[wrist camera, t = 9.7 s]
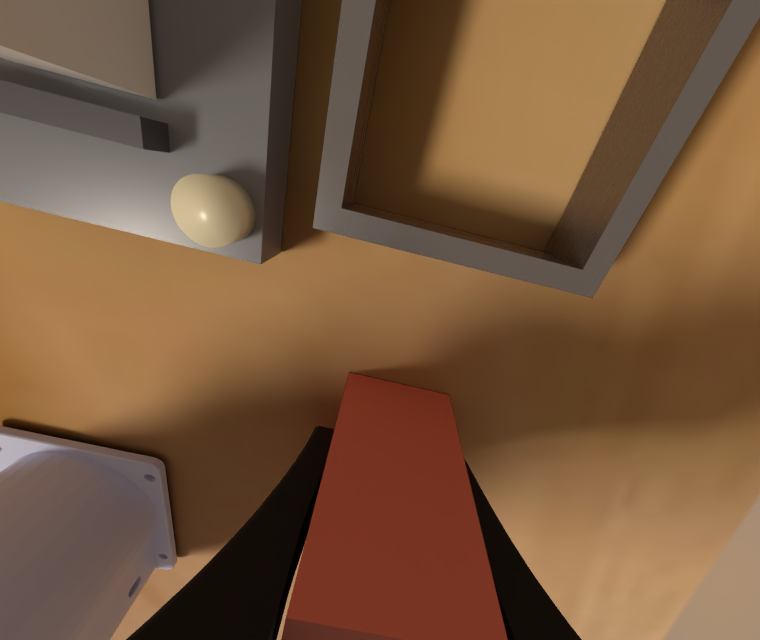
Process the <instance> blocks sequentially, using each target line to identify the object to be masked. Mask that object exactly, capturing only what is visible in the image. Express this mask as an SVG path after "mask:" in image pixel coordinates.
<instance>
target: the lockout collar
mask: <svg viewBox="0 0 760 640" xmlns="http://www.w3.org/2000/svg"><path fill="white" fill-rule="evenodd" d="M389 3H390V0H342V4H341V12H340V20H339V27H338V35H337V43H336V51H335V58H334V66H333V74H332V82H331V89H330V97H329V105H328V113H327V120H326V128H325V136H324V144H323V151H322V159H321V167H320V175H319V182H318V190H317V198H316V206H315V213H314V221H313V228H315V229H319V230H323V231H327V232H331V233H335V234H339V235H343V236H347V237H351V238H355V239H359V240H363V241H367V242H371V243H375V244H379V245H383V246H387V247H391V248H395V249H399V250H403V251H407V252H411V253H415V254H419V255H423V256H427V257H431V258H435V259H439V260H443V261H447V262H451V263H455V264H459V265H463V266H467V267H471V268H475V269H479V270H483V271H487V272H491V273H495V274H499V275H503V276H507V277H511V278H515V279H519V280H523V281H527V282H531V283H535V284H539V285H542V286H546V287H550V288H554V289H558V290H562V291H566V292H570V293H574V294H578V295H582V296H586V297H590V298H593V296H594V294H595V293H596V291H597V289H598V288H599V286H600V284H601V283H602V281H603V279H604V278H605V276H606V274H607V273H608V271H609V269H610V268H611V266H612V264H613V263H614V261H615V259H616V258H617V256H618V254H619V253H620V251H621V249H622V248H623V246H624V244H625V242H626V241H627V239H628V237H629V236H630V234H631V232H632V231H633V229H634V227H635V226H636V224H637V222H638V221H639V219H640V217H641V216H642V214H643V212H644V211H645V209H646V207H647V206H648V204H649V202H650V201H651V199H652V197H653V196H654V194H655V192H656V191H657V189H658V187H659V185H660V184H661V182H662V180H663V179H664V177H665V175H666V174H667V172H668V170H669V169H670V167H671V165H672V164H673V162H674V160H675V159H676V157H677V155H678V154H679V152H680V150H681V149H682V147H683V145H684V144H685V142H686V140H687V139H688V137H689V135H690V134H691V132H692V130H693V128H694V127H695V125H696V123H697V122H698V120H699V118H700V117H701V115H702V113H703V112H704V110H705V108H706V107H707V105H708V103H709V102H710V100H711V98H712V97H713V95H714V93H715V92H716V90H717V88H718V87H719V85H720V83H721V82H722V80H723V78H724V77H725V75H726V73H727V71H728V70H729V68H730V66H731V65H732V63H733V61H734V60H735V58H736V56H737V55H738V53H739V51H740V50H741V48H742V46H743V45H744V43H745V41H746V40H747V38H748V36H749V35H750V33H751V31H752V30H753V28H754V26H755V25H756V23H757V21H758V20H759V18H760V0H667V1H666V3H665V5H664V7H663V9H662V11H661V13H660V15H659V17H658V20H657V22H656V24H655V26H654V28H653V30H652V32H651V34H650V36H649V38H648V40H647V42H646V44H645V46H644V48H643V51H642V53H641V55H640V57H639V59H638V61H637V63H636V65H635V67H634V69H633V71H632V73H631V75H630V77H629V79H628V82H627V84H626V86H625V88H624V90H623V92H622V94H621V96H620V98H619V100H618V102H617V104H616V106H615V108H614V110H613V113H612V115H611V117H610V119H609V121H608V123H607V125H606V127H605V129H604V131H603V133H602V135H601V137H600V139H599V141H598V144H597V146H596V148H595V150H594V152H593V154H592V156H591V158H590V160H589V162H588V164H587V166H586V168H585V170H584V172H583V175H582V177H581V179H580V181H579V183H578V185H577V187H576V189H575V191H574V193H573V195H572V197H571V199H570V201H569V203H568V206H567V208H566V210H565V212H564V214H563V216H562V218H561V220H560V222H559V224H558V226H557V228H556V230H555V232H554V234H553V237H552V239H551V241H550V243H549V245H548V247H547V249H546V251H545V252H542V251H538V250H534V249H530V248H526V247H522V246H519V245H515V244H511V243H507V242H503V241H499V240H495V239H491V238H487V237H484V236H480V235H476V234H472V233H468V232H464V231H460V230H456V229H452V228H448V227H445V226H441V225H437V224H433V223H429V222H425V221H421V220H417V219H413V218H409V217H406V216H402V215H398V214H394V213H390V212H386V211H382V210H378V209H374V208H370V207H367V206H363V205H359V204H355V203H353V201H354V196H355V190H356V185H357V179H358V174H359V168H360V163H361V157H362V152H363V146H364V141H365V135H366V130H367V124H368V119H369V113H370V108H371V102H372V97H373V91H374V86H375V80H376V75H377V69H378V64H379V58H380V53H381V47H382V42H383V36H384V31H385V25H386V20H387V14H388V8H389Z"/></svg>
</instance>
